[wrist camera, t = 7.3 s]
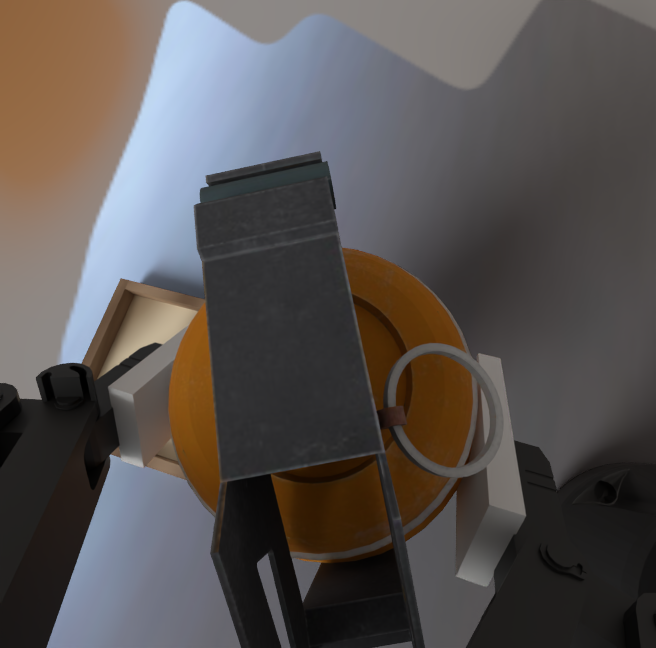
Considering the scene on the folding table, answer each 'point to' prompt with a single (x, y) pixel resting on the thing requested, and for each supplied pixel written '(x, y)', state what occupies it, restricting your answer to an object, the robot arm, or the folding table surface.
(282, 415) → the canister
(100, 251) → the folding table surface
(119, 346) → the wooden tray
